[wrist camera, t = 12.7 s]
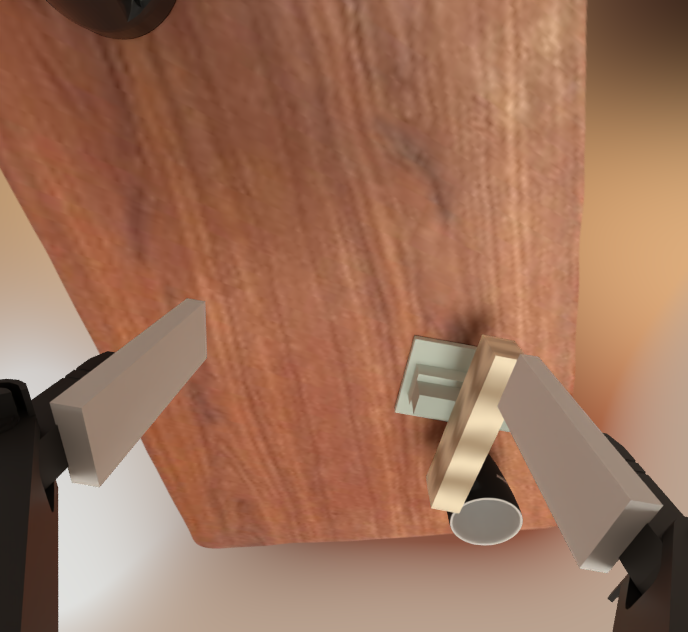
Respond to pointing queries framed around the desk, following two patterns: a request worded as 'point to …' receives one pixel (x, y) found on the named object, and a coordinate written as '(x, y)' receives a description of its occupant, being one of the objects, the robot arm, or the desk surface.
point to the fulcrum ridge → (434, 378)
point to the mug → (487, 509)
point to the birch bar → (471, 424)
